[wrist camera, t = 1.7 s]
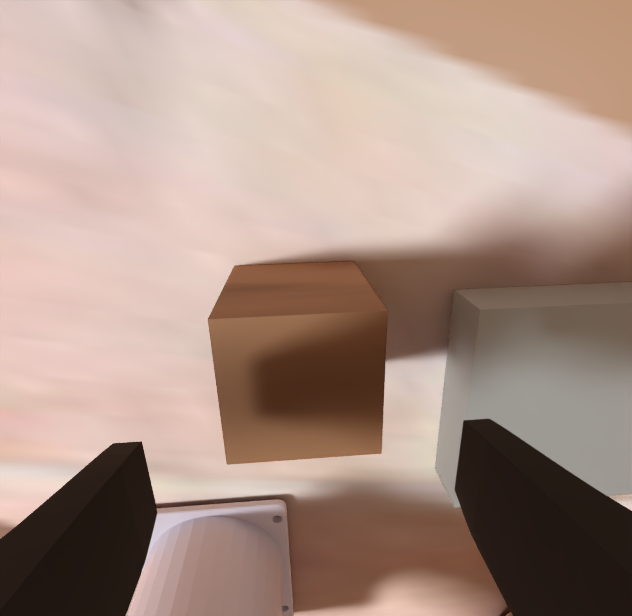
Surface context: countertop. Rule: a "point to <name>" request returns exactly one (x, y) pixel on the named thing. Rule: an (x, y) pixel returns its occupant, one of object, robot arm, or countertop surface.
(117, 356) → the countertop surface
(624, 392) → the block
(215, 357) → the walnut block
